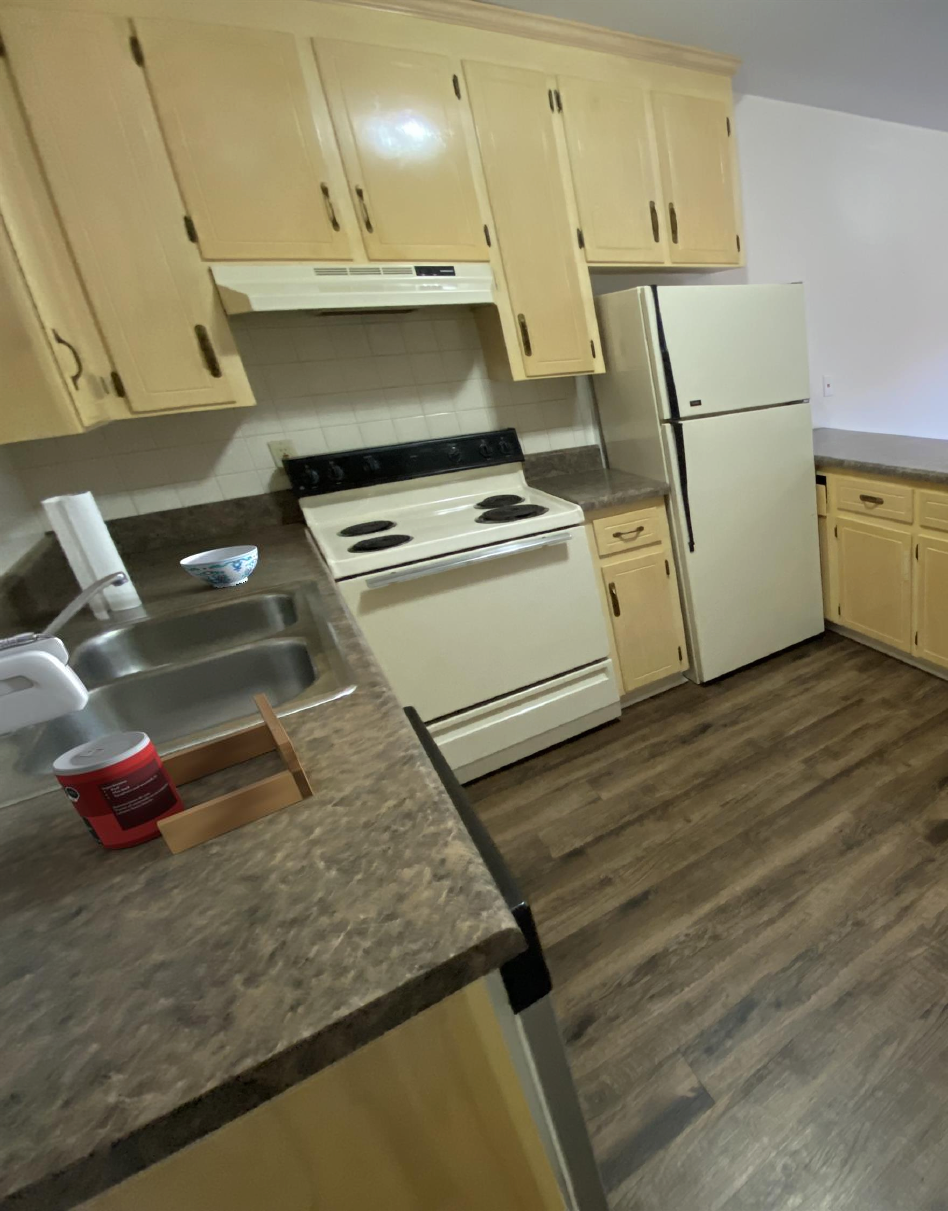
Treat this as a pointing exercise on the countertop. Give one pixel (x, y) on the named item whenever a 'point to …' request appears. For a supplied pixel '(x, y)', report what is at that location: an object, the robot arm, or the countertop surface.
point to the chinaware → (222, 565)
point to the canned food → (118, 788)
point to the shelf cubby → (239, 803)
